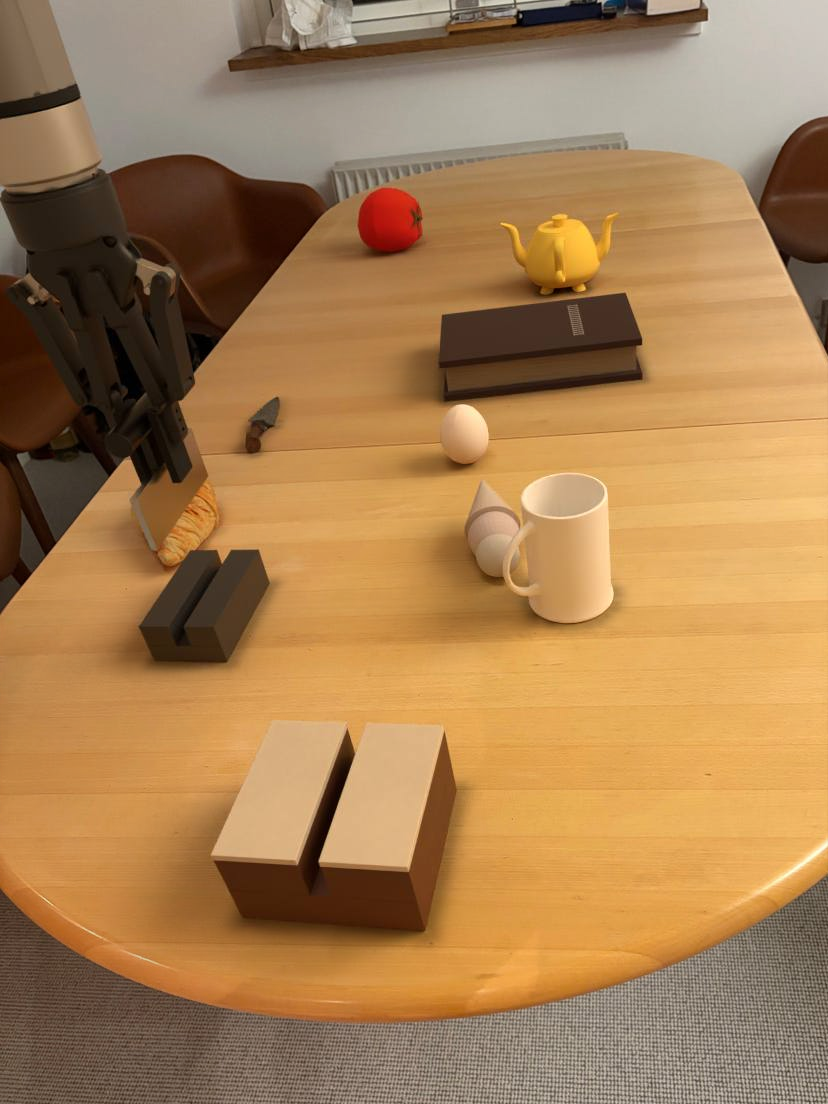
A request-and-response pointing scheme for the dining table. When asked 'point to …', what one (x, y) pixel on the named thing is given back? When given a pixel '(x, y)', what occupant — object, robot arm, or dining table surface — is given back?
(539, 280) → the teapot
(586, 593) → the mug
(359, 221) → the tomato
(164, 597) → the slotted block
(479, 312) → the book
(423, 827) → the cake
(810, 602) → the dining table surface
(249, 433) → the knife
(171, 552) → the croissant
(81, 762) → the dining table surface
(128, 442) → the ulu knife
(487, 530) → the ice cream cone
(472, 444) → the egg
